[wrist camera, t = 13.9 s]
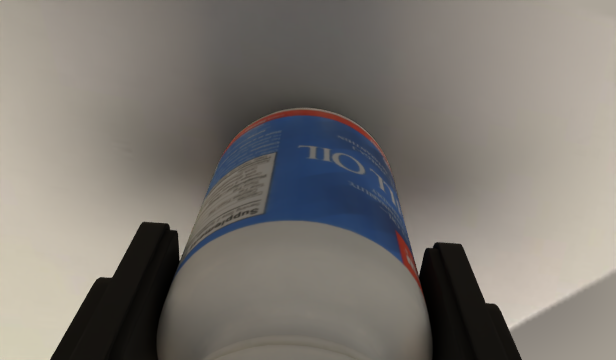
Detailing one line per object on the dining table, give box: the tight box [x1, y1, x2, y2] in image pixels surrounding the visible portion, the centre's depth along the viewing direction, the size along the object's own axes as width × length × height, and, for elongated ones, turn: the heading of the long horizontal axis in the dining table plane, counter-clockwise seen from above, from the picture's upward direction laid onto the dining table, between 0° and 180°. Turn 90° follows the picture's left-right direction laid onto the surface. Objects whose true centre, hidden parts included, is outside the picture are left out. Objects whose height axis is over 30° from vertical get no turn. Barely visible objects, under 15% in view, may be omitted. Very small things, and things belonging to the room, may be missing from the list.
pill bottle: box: [156, 108, 433, 360], centre depth 12 cm, size 6×5×10 cm
